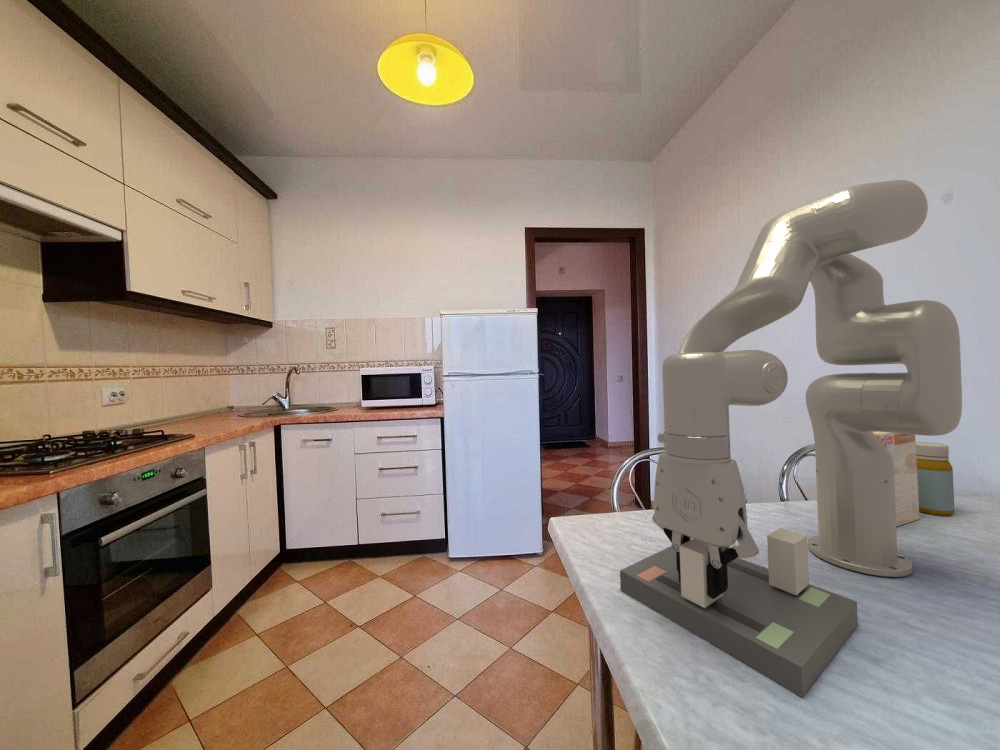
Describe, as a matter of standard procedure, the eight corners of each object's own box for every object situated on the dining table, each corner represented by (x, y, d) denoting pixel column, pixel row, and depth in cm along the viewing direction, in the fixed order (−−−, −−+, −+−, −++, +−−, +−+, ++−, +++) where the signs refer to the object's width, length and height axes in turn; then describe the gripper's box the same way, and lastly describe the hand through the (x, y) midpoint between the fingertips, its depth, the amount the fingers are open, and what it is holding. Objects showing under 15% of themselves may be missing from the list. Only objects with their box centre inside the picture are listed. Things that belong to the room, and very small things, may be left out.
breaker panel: (687, 555, 63) (686, 538, 63) (857, 625, 45) (856, 601, 45) (620, 590, 54) (619, 570, 54) (802, 697, 35) (801, 666, 35)
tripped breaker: (699, 584, 49) (697, 536, 49) (722, 595, 46) (720, 544, 46) (681, 596, 47) (679, 545, 47) (704, 608, 44) (702, 554, 44)
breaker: (782, 574, 51) (780, 527, 51) (809, 583, 48) (807, 535, 48) (769, 584, 48) (767, 535, 49) (796, 595, 46) (794, 544, 46)
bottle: (965, 517, 76) (962, 447, 76) (925, 516, 77) (922, 446, 77) (933, 505, 82) (930, 441, 83) (896, 504, 84) (894, 441, 84)
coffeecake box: (876, 508, 82) (873, 424, 82) (922, 519, 75) (917, 427, 75) (837, 519, 77) (833, 429, 77) (882, 532, 70) (877, 433, 70)
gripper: (625, 441, 52) (630, 569, 51) (754, 462, 38) (761, 636, 38) (657, 436, 56) (661, 553, 55) (783, 452, 42) (789, 609, 42)
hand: (701, 585), depth 46 cm, fingers closed on tripped breaker, 3 cm apart
